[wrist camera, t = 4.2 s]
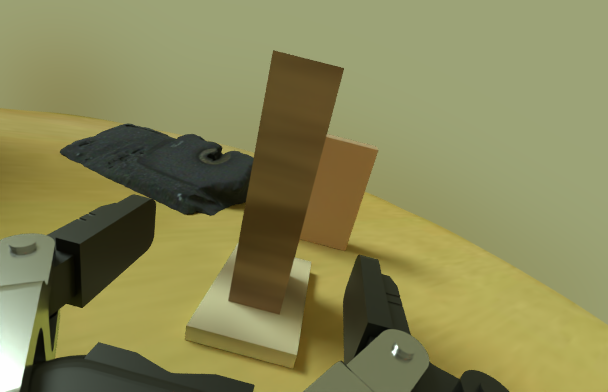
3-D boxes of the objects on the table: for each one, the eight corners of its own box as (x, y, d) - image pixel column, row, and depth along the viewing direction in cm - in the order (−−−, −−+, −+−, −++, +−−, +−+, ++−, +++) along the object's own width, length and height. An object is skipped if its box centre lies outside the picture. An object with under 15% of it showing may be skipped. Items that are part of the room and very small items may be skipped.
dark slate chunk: (157, 141, 48) (159, 110, 47) (280, 189, 42) (287, 155, 40) (46, 154, 35) (43, 112, 33) (202, 228, 28) (208, 179, 26)
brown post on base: (292, 368, 17) (382, 74, 11) (184, 339, 17) (222, 34, 11) (308, 272, 25) (363, 77, 20) (236, 253, 25) (272, 54, 20)
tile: (345, 251, 29) (378, 150, 26) (263, 229, 30) (285, 126, 26) (344, 242, 31) (376, 146, 28) (267, 221, 31) (288, 123, 28)
